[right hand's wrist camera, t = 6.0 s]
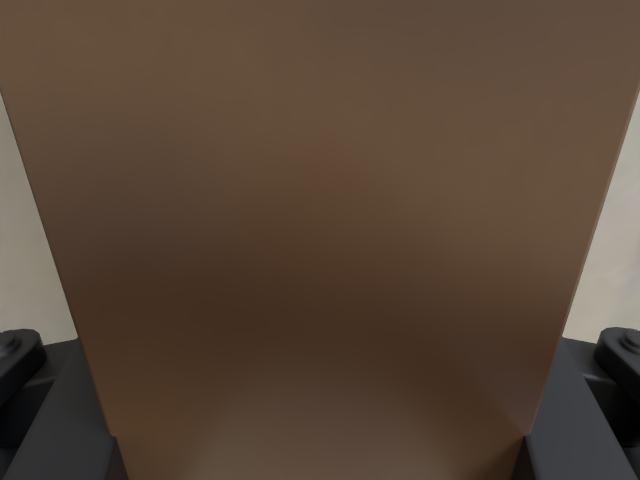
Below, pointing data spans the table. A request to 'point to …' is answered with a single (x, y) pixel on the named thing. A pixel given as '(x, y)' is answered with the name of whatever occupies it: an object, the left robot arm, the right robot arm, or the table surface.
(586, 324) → the table surface
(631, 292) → the table surface
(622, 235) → the table surface
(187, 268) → the box
